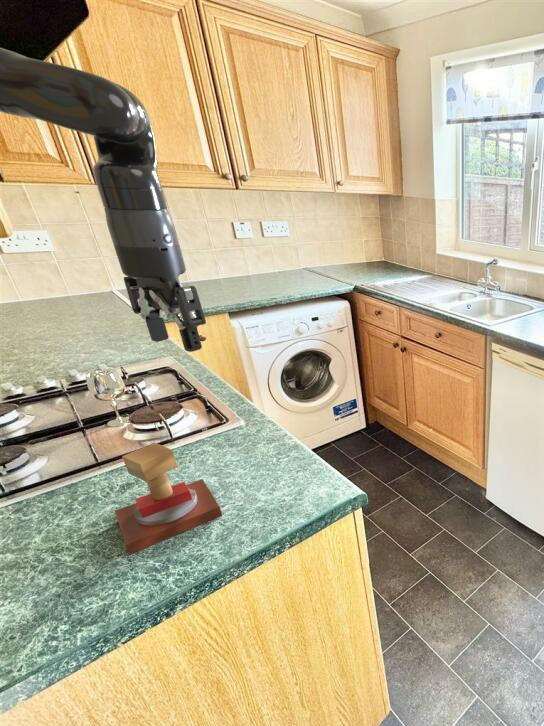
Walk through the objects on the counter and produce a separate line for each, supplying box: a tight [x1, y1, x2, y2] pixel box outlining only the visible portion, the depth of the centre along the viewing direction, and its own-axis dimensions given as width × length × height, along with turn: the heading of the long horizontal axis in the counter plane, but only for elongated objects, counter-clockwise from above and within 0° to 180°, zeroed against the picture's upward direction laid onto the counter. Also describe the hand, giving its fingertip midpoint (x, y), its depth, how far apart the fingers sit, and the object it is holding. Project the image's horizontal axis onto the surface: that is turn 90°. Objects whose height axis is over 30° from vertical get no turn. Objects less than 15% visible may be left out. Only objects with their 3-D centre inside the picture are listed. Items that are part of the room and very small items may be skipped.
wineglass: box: [86, 368, 130, 428], centre depth 92 cm, size 6×6×12 cm
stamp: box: [121, 442, 198, 526], centre depth 66 cm, size 8×8×11 cm
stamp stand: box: [114, 478, 223, 555], centre depth 69 cm, size 12×10×2 cm
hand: (177, 345), depth 68 cm, fingers open, 8 cm apart
